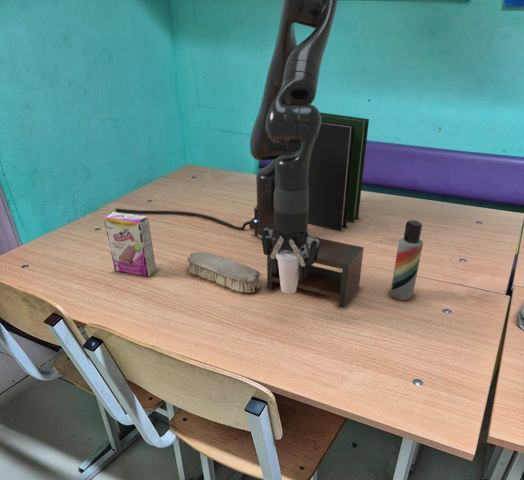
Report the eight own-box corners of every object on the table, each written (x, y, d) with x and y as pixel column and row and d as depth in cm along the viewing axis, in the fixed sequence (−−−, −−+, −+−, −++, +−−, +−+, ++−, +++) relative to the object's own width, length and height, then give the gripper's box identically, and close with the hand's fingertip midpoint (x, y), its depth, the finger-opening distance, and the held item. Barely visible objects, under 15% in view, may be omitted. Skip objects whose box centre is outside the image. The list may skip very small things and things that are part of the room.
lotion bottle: (387, 290, 131) (399, 217, 119) (408, 288, 132) (422, 216, 120) (394, 301, 127) (406, 227, 115) (415, 299, 127) (430, 226, 115)
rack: (267, 287, 133) (266, 246, 126) (285, 270, 141) (286, 231, 133) (343, 307, 124) (348, 264, 117) (358, 288, 132) (363, 247, 125)
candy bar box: (114, 272, 141) (102, 217, 131) (123, 264, 145) (112, 210, 135) (148, 278, 138) (139, 222, 128) (157, 270, 142) (148, 215, 132)
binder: (359, 218, 171) (370, 118, 152) (338, 232, 162) (347, 128, 142) (293, 202, 184) (295, 109, 165) (270, 215, 174) (270, 117, 155)
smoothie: (300, 297, 115) (302, 242, 107) (273, 295, 116) (273, 240, 108) (303, 284, 120) (306, 230, 112) (277, 281, 121) (278, 228, 113)
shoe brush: (181, 273, 140) (179, 257, 137) (199, 263, 145) (197, 247, 142) (249, 297, 129) (248, 280, 126) (265, 286, 134) (265, 269, 131)
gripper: (329, 206, 106) (323, 275, 116) (269, 195, 111) (269, 262, 121) (314, 218, 101) (310, 289, 111) (253, 206, 106) (254, 275, 116)
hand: (289, 274), depth 116 cm, fingers closed on smoothie, 6 cm apart
